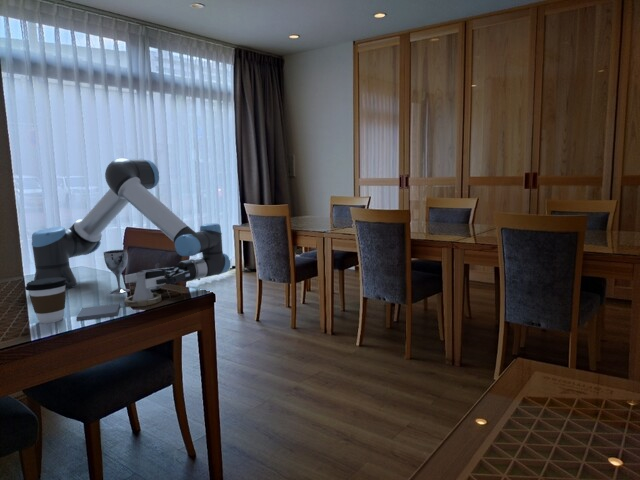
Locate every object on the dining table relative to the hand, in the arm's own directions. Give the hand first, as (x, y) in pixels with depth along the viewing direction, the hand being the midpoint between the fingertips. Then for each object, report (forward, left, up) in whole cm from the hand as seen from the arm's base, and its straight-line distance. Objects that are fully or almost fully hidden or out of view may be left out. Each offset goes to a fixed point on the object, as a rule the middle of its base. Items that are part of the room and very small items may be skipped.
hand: (135, 281), depth 154 cm
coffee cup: (+8, -24, -8) cm, 26 cm away
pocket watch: (-18, +5, -8) cm, 20 cm away
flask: (-1, +2, -8) cm, 8 cm away
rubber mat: (+7, -11, -7) cm, 15 cm away
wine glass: (-22, -7, -8) cm, 25 cm away
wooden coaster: (-1, +2, -7) cm, 8 cm away
